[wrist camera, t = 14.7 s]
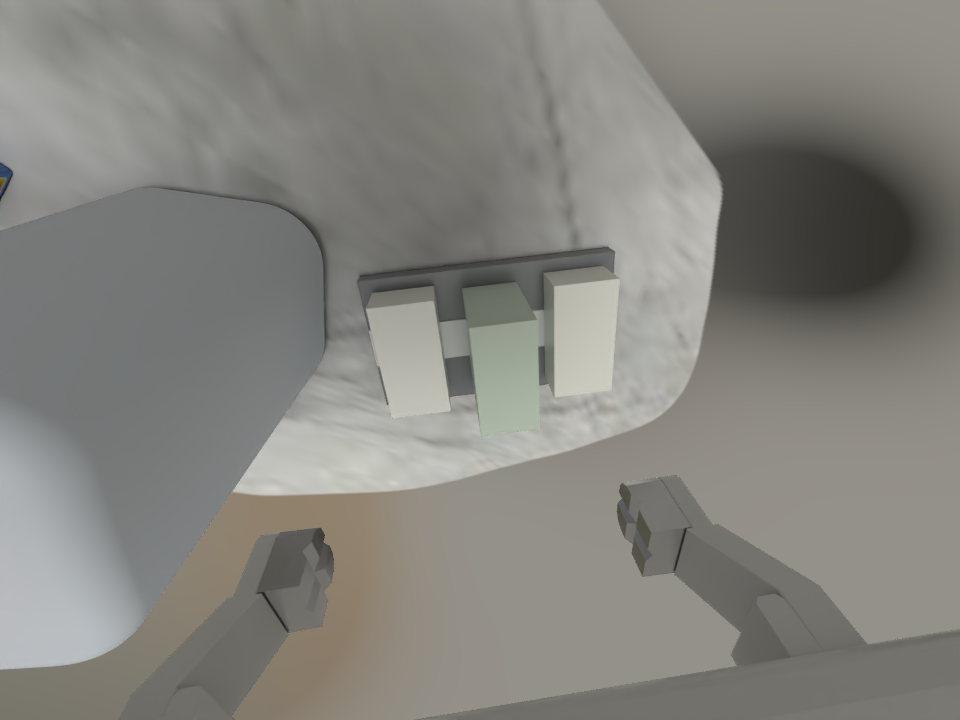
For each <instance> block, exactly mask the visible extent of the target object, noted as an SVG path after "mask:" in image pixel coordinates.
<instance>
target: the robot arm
mask: <svg viewBox="0 0 960 720" xmlns="http://www.w3.org/2000/svg"><path fill="white" fill-rule="evenodd" d="M619 493H620V495H621V497H622V499H621V500H620V501H619V502H618V505H617V515H618V522H619V525H620V528H621V531H622V533H623V535H624V537H625V539H627V540H628V541H629V542H631V543H632V544H633V548H632V555H633V557H634V559H635V562H636V564H637V566H638V568H639V570H640V572H641V574H642V576H643V577H644V576H652V575H659V574H668V573H675V575H676V576H677V577H678V578H679V579H680V580H681V581H682V582H684V583H685V584H686V585H687V586H688V587H689V588H690V589H692V590H693V591H694V592H695V593H696V594H697V595H699V596H700V597H701V598H702V599H703V600H704V601H705V602H707V603H708V604H709V605H710V606H711V607H712V608H713V609H715V610H716V611H717V612H718V613H719V614H720V615H721V616H723V617H724V618H725V619H726V620H727V621H728V622H729V623H731V624H732V625H733V626H734V627H735V628H736V629H737V630H739V631H740V632H741V633H740V635H739V637H738V639H737V642H736V644H735V646H734V648H733V651H732V654H731V656H732V658H733V659H734V661H735V663H736V665H737V666H735V667H729V668H723V669H717V670H711V671H705V672H699V673H693V674H686V675H680V676H675V677H669V678H662V679H656V680H650V681H644V682H638V683H632V684H626V685H620V686H614V687H609V688H603V689H596V690H591V691H584V692H578V693H572V694H566V695H561V696H554V697H548V698H542V699H537V700H530V701H524V702H518V703H512V704H506V705H500V706H494V707H488V708H482V709H477V710H471V711H464V712H458V713H452V714H446V715H440V716H434V717H428V718H422V719H417V720H960V629H957V630H951V631H945V632H939V633H933V634H927V635H921V636H915V637H909V638H903V639H897V640H891V641H885V642H880V643H873V644H867V643H866V642H865V641H864V639H863V638H862V637H861V636H860V635H859V633H858V632H857V631H856V630H855V628H854V627H853V626H852V625H851V624H850V622H849V621H848V620H847V619H846V617H844V615H843V614H842V613H841V611H840V610H839V609H838V608H837V606H836V605H835V604H834V603H833V602H832V600H831V599H830V598H829V597H828V595H827V594H826V593H825V592H824V591H823V589H822V588H821V587H820V586H819V585H818V584H816V583H814V582H813V581H811V580H809V579H808V578H806V577H805V576H803V575H801V574H800V573H798V572H796V571H795V570H793V569H791V568H789V567H788V566H786V565H785V564H783V563H781V562H780V561H778V560H776V559H775V558H773V557H772V556H770V555H768V554H767V553H765V552H763V551H762V550H760V549H758V548H756V547H755V546H753V545H752V544H750V543H749V542H747V541H745V540H744V539H742V538H740V537H739V536H737V535H735V534H734V533H732V532H730V531H729V530H727V529H726V528H724V527H722V526H720V525H719V524H715V525H713V524H712V523H711V521H710V520H709V519H708V517H707V516H706V514H705V513H704V511H703V510H702V509H701V507H700V506H699V504H698V503H697V501H696V500H695V498H694V497H693V496H692V494H691V493H690V491H689V490H688V489H687V487H686V485H685V484H684V483H683V481H682V480H681V478H680V477H678V476H677V475H671V476H665V477H659V478H649V479H643V480H636V481H630V482H624V483H622V484H621V485H620V489H619ZM324 538H325V534H324V532H323V530H322V529H321V528H313V529H305V530H297V531H288V532H280V533H272V534H265V535H261V536H260V537H259V538H258V539H257V541H256V542H255V545H254V547H253V549H252V552H251V554H250V557H249V560H248V562H247V564H246V567H245V569H244V571H243V574H242V576H241V579H240V581H239V584H238V586H237V589H236V591H235V593H234V596H233V597H232V598H227V599H226V600H225V601H224V602H223V603H222V604H221V605H220V606H219V607H218V608H217V609H216V610H215V611H214V612H213V613H212V614H211V615H210V616H209V617H208V618H207V619H206V620H205V621H204V622H203V623H202V624H201V625H200V626H199V627H198V628H197V629H196V630H195V631H194V632H193V633H192V634H191V635H190V636H189V637H188V638H187V639H186V640H185V641H184V642H183V643H182V644H181V645H180V646H179V647H178V648H177V649H176V650H175V651H174V652H173V653H172V654H171V655H170V656H169V657H168V658H167V659H166V660H165V661H164V662H163V663H162V664H161V665H160V666H159V667H158V668H157V669H156V670H155V671H154V672H153V673H152V674H151V675H150V676H149V677H148V678H147V679H146V680H145V681H144V682H143V683H142V684H141V685H140V686H139V687H138V688H137V689H136V690H135V691H134V692H133V693H132V694H131V696H130V698H129V700H128V702H127V704H126V706H125V708H124V709H123V711H122V713H121V715H120V717H119V719H118V720H235V719H234V718H233V717H232V715H233V714H234V712H235V711H236V709H237V708H238V707H239V705H240V704H241V702H242V701H243V700H244V698H245V697H246V695H247V694H248V692H249V691H250V690H251V688H252V687H253V685H254V684H255V682H256V681H257V679H258V678H259V677H260V675H261V674H262V672H263V671H264V669H265V668H266V667H267V665H268V664H269V662H270V661H271V659H272V658H273V657H274V655H275V654H276V652H277V651H278V650H279V648H280V647H281V645H282V644H283V642H284V641H285V639H286V638H287V637H288V633H290V632H296V631H301V630H307V629H311V628H317V627H322V625H323V621H324V616H325V612H326V607H327V602H328V599H327V597H326V595H325V593H324V591H325V590H326V589H327V588H328V586H329V585H330V584H331V583H332V578H333V572H334V558H333V552H332V550H331V547H330V546H329V545H327V544H325V543H324Z"/></svg>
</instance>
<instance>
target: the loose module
mask: <svg viewBox="0 0 960 720" xmlns="http://www.w3.org/2000/svg"><path fill="white" fill-rule="evenodd" d="M462 292H463V301H464V310H465V319H466V327H467V336H468V345H469V353H470V362H471V371H472V379H473V386H474V393H475V399H476V406H477V412H478V419H479V425H480V432H481V436H489V435H496V434H504V433H511V432H519V431H526V430H534V429H540V406H539V363H538V320H537V318H536V316H535V314H534V313H533V311H532V309H531V307H530V305H529V304H528V302H527V300H526V298H525V296H524V295H523V293H522V291H521V289H520V287H519V286H518V284H517V282H510V283H502V284H493V285H485V286H476V287H468V288H462Z"/></svg>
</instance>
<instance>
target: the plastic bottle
mask: <svg viewBox="0 0 960 720" xmlns="http://www.w3.org/2000/svg"><path fill="white" fill-rule="evenodd" d="M324 348H325V330H324V279H323V259H322V254H321V251H320V248H319V246H318V243H317V241H316V240H315V238H314V236H313V235H312V233H311V232H310V231H309V229H308V228H307V227H306V226H305V225H304V224H303V223H302V222H301V221H300V220H299V219H297V218H296V217H295V216H293V215H292V214H290V213H289V212H287V211H285V210H283V209H281V208H279V207H276V206H273V205H270V204H265V203H260V202H253V201H246V200H239V199H232V198H225V197H218V196H211V195H204V194H197V193H190V192H183V191H175V190H168V189H161V188H153V187H145V188H137V189H132V190H129V191H126V192H122V193H119V194H116V195H113V196H110V197H107V198H103V199H100V200H97V201H94V202H91V203H88V204H84V205H81V206H78V207H75V208H72V209H68V210H65V211H62V212H59V213H56V214H53V215H49V216H46V217H43V218H40V219H37V220H34V221H30V222H27V223H24V224H21V225H18V226H14V227H11V228H8V229H5V230H2V231H0V669H14V668H15V669H16V668H32V667H49V666H60V665H69V664H74V663H79V662H83V661H86V660H89V659H92V658H95V657H98V656H100V655H102V654H104V653H106V652H108V651H110V650H112V649H114V648H115V647H117V646H118V645H120V644H121V643H123V642H124V641H125V640H126V639H127V638H129V637H130V636H131V635H132V634H133V633H134V632H135V631H136V630H137V629H138V628H139V626H140V625H141V624H142V623H143V621H144V620H145V619H146V617H147V615H148V614H149V613H150V611H151V610H152V608H153V607H154V605H155V604H156V602H157V601H158V599H159V598H160V596H161V595H162V594H163V592H164V591H165V589H166V587H167V586H168V585H169V583H170V582H171V580H172V579H173V577H174V576H175V574H176V573H177V572H178V570H179V569H180V567H181V566H182V564H183V563H184V561H185V560H186V558H187V557H188V555H189V554H190V552H191V551H192V550H193V548H194V546H195V545H196V543H197V542H198V541H199V539H200V538H201V536H202V535H203V533H204V532H205V530H206V529H207V528H208V526H209V525H210V523H211V522H212V520H213V518H214V517H215V516H216V514H217V513H218V511H219V510H220V508H221V507H222V505H223V504H224V503H225V501H226V500H227V498H228V497H229V495H230V494H231V492H232V491H233V489H234V488H235V486H236V485H237V483H238V482H239V481H240V479H241V478H242V476H243V475H244V473H245V472H246V470H247V469H248V467H249V466H250V464H251V463H252V461H253V460H254V459H255V457H256V456H257V454H258V453H259V451H260V450H261V448H262V447H263V445H264V444H265V442H266V441H267V439H268V438H269V437H270V435H271V434H272V432H273V431H274V429H275V428H276V426H277V425H278V423H279V422H280V420H281V419H282V417H283V416H284V415H285V413H286V412H287V410H288V409H289V407H290V406H291V404H292V403H293V401H294V400H295V398H296V397H297V395H298V394H299V392H300V391H301V390H302V388H303V387H304V385H305V384H306V382H307V381H308V379H309V378H310V376H311V375H312V373H313V372H314V370H315V369H316V368H317V366H318V365H319V363H320V361H321V359H322V357H323V353H324Z"/></svg>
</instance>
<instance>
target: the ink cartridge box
mask: <svg viewBox="0 0 960 720" xmlns="http://www.w3.org/2000/svg"><path fill="white" fill-rule="evenodd" d="M11 175H12V172H11V171H10V170H9V169H7V168H6V167H4V166H3V165H1V164H0V196H1V195H2V193H3V191H4V189H5V187H6V185H7V183H8V181H9V179H10V177H11Z"/></svg>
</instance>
